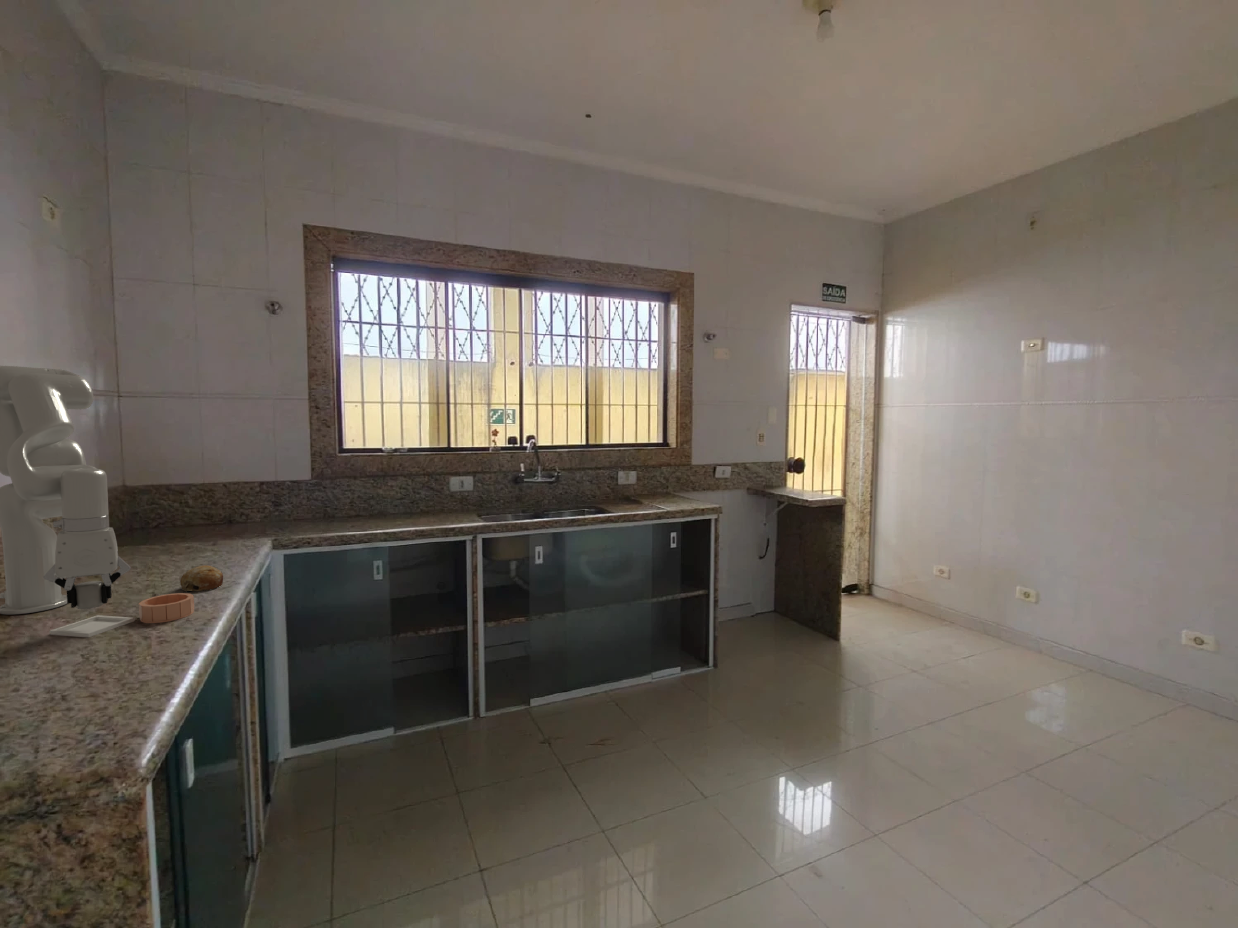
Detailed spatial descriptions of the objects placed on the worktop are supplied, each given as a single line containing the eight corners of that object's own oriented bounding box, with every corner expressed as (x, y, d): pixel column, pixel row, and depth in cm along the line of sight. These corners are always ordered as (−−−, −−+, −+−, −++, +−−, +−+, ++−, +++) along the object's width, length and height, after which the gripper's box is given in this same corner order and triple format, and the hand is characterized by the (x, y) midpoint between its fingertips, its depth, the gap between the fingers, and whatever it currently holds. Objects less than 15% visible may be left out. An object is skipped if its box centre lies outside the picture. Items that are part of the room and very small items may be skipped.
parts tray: (49, 635, 123) (49, 630, 123) (97, 620, 133) (97, 615, 133) (88, 638, 122) (88, 633, 122) (134, 622, 132) (134, 617, 132)
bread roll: (177, 604, 156) (170, 582, 152) (192, 579, 165) (185, 558, 161) (218, 601, 159) (212, 579, 155) (231, 577, 168) (225, 556, 164)
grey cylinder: (70, 607, 126) (69, 586, 125) (92, 601, 130) (91, 580, 130) (88, 609, 125) (87, 587, 125) (109, 603, 130) (108, 581, 129)
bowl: (128, 623, 132) (127, 605, 131) (168, 609, 141) (167, 592, 141) (166, 625, 130) (165, 607, 130) (204, 611, 140) (203, 594, 140)
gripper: (28, 531, 118) (33, 615, 120) (134, 523, 128) (137, 602, 130) (36, 524, 124) (40, 605, 126) (137, 518, 134) (140, 593, 136)
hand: (90, 602), depth 128 cm, fingers closed on grey cylinder, 4 cm apart
